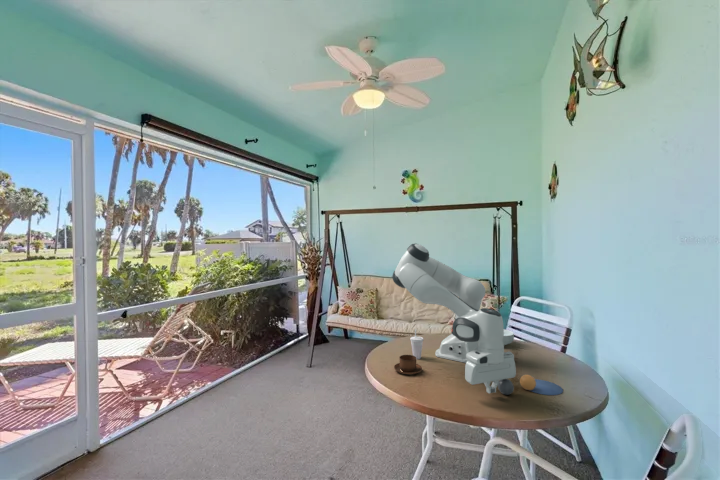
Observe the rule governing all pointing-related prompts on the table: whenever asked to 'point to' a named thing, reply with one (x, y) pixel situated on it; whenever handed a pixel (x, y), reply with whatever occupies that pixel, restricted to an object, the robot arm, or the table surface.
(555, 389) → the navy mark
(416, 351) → the smoothie
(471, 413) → the table surface
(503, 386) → the charcoal ball
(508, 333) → the cereal bowl
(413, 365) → the cup and saucer
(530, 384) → the orange ball
